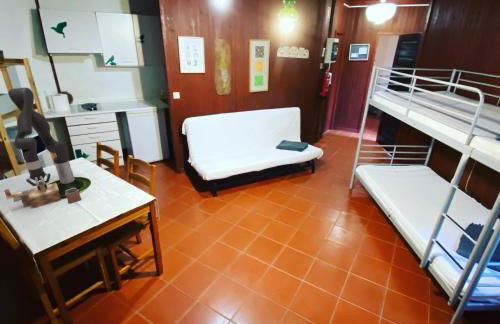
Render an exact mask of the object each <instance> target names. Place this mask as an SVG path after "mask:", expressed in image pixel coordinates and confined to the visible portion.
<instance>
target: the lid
mask: <svg viewBox="0 0 500 324" xmlns="http://www.w3.org/2000/svg"><path fill="white" fill-rule="evenodd" d="M38 184H39V187H40V189H41V190H38V188H37V187H34V188H30V189H28V194H29V198H30V199H32V198H36V197H39V196H43V195H47V194H50V193H54V192H60V189H59V187H58V185H57V182H53V183H49V184H46V185H47V188H46V189H45V187H44V184H43V182H42V180H39V181H38Z"/></svg>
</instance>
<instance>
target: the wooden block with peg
mask: <svg viewBox="0 0 500 324" xmlns="http://www.w3.org/2000/svg"><path fill="white" fill-rule="evenodd" d="M3 192H4V193H5V198H6V200H11V199H13V198H15V197H19V196H23V193H22V192H23V191H19V192H14V193H11V191H10V189H9V188H7V189H4V190H3Z"/></svg>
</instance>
